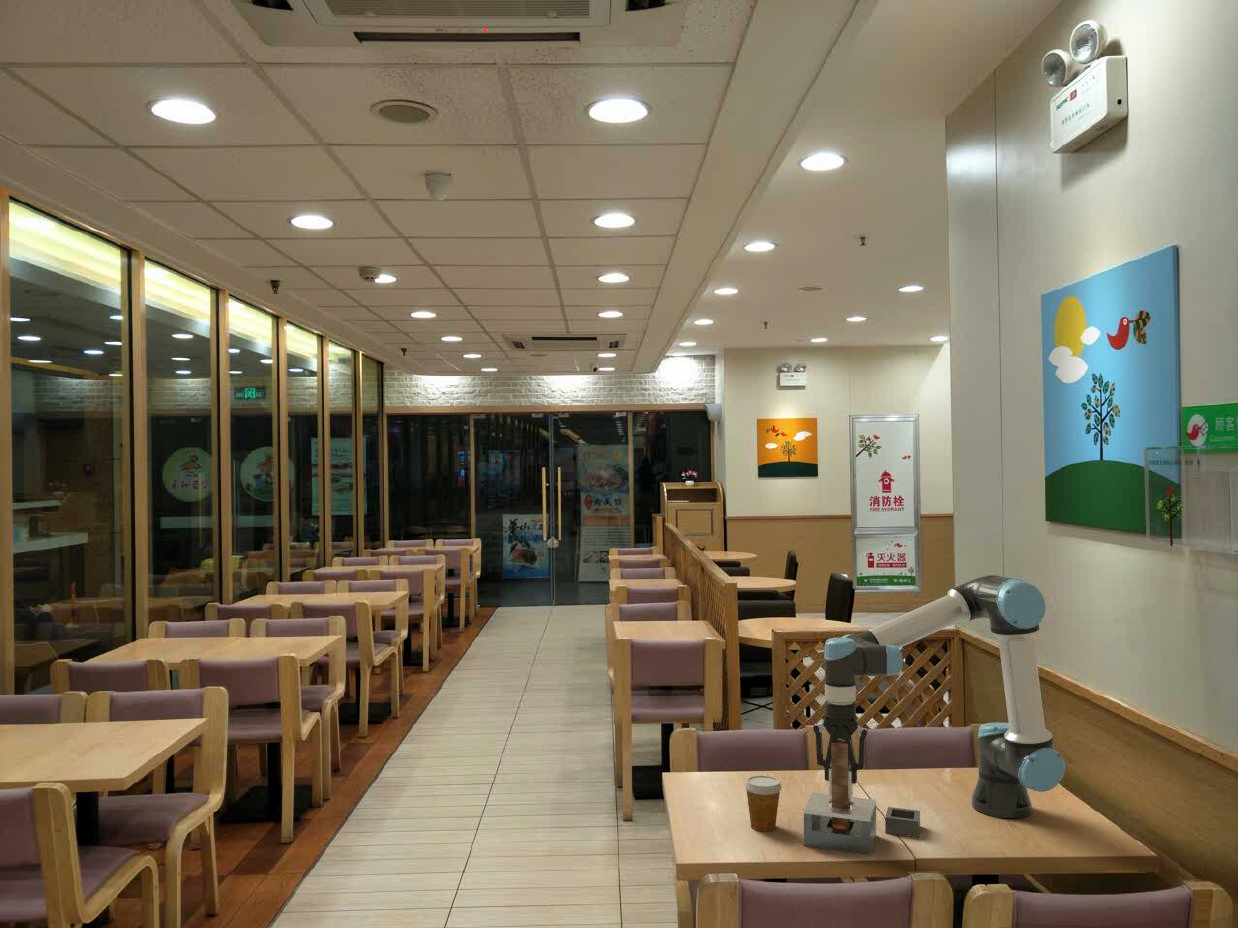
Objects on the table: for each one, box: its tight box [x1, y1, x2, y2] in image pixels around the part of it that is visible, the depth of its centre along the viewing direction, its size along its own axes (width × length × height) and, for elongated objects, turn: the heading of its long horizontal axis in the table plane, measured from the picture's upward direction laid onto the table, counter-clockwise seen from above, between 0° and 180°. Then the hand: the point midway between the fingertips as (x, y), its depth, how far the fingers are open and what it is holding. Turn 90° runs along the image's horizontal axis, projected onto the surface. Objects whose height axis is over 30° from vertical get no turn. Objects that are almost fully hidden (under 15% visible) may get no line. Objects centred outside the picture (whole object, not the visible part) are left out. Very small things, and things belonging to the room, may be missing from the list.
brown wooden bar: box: [830, 739, 851, 825], centre depth 237 cm, size 4×4×20 cm
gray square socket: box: [884, 806, 921, 838], centre depth 244 cm, size 8×8×4 cm
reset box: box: [803, 791, 877, 856], centre depth 237 cm, size 16×13×9 cm
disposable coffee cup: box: [744, 775, 782, 832], centre depth 246 cm, size 10×10×12 cm
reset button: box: [831, 822, 850, 830], centre depth 237 cm, size 4×4×4 cm
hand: (840, 794), depth 237 cm, fingers closed on brown wooden bar, 4 cm apart
